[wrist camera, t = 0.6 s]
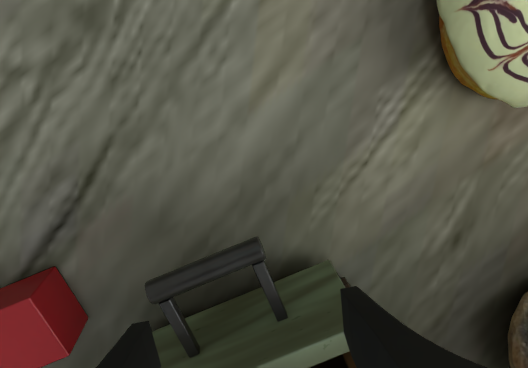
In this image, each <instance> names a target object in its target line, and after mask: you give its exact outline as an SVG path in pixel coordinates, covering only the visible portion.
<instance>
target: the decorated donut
mask: <svg viewBox="0 0 528 368" xmlns="http://www.w3.org/2000/svg"><path fill="white" fill-rule="evenodd" d="M437 8H438V11H439V14H440V16H439V28H440V35H441V43H442V48H443V50H444V53H445V56H446V59H447V61H448V65H449V66H450V69H451V71H452V72H453V74H454V76H455V77H456V78H457V79H458V80H459V81H460V83H461V84H463V85H464V86H467V87H469V88H470V89H472V90H474V91H475V92H477V93H478V94H480V95H482V96H484V97H487V98H491V99H497V100H501V101H504V102H505V103H507V104H509V105H510V106H511V107H513V108H521V107H527V106H528V0H437Z"/></svg>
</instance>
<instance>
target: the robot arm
mask: <svg viewBox="0 0 528 368" xmlns="http://www.w3.org/2000/svg"><path fill="white" fill-rule="evenodd" d="M340 292H341V304H342V316H343V329H344V335H345V338H346V341H347V344H348V347H349V350H350V353H351V356H352V359H353V361H354V363H355V365H356V368H487V367H484V366H482V365H479V364H476V363H474V362H472V361H469V360H467V359H465V358H462V357H460V356H458V355H456V354H454V353H452V352H450V351H448V350H445V349H444V348H442V347H440V346H438V345H436V344H434V343H432V342H431V341H429V340H427V339H425V338H424V337H422V336H420V335H419V334H417V333H416V332H414V331H412V330H411V329H410V328H408V327H407V326H405V325H404V324H402V323H401V322H400V321H398V320H397V319H396V318H394V317H393V316H392V315H390V314H389V313H388V312H387V311H385V310H384V309H383V308H382V307H380V306H379V305H378V304H377V303H376V302H374V301H373V300H372V299H371V298H370V297H369V296H367V295H366V294H365V293H364V292H363V291H362V290H361V289H359V288H358V287H357V286H354V287H348V288H342V289H340ZM96 368H161V363H160V359H159V355H158V352H157V348H156V345H155V341H154V338H153V334H152V331H151V327H150V324H149V321H146V322H140V323H134V324H132V325H131V326H130V327H129V328H128V329H127V331H126V332H125V333H124V334H123V336H122V337H121V338H120V339H119V341H118V342H117V343H116V344H115V346H114V347H113V348H112V349H111V350H110V352H109V353H108V354H107V355H106V356H105V358H104V359H103V360H102V361H101V362H100V364H99V365H98V366H97V367H96Z"/></svg>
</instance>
